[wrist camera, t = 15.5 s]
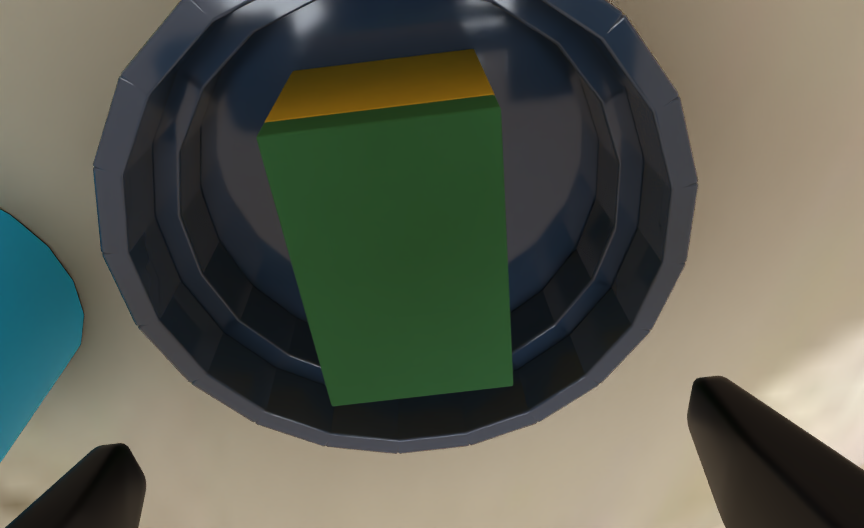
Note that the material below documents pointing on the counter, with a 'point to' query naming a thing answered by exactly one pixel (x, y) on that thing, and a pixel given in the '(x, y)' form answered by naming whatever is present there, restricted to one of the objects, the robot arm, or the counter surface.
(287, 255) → the bowl
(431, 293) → the sponge
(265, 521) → the counter surface
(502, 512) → the counter surface
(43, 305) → the mug
